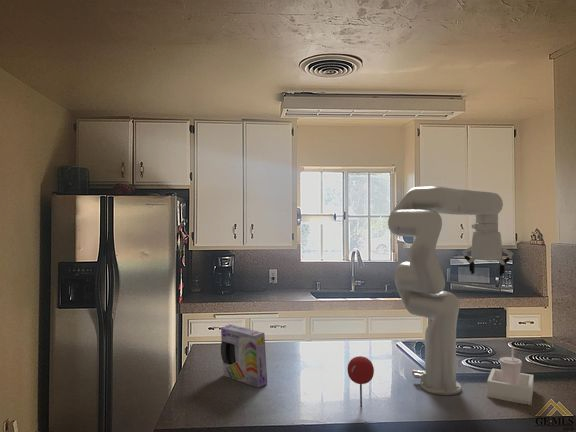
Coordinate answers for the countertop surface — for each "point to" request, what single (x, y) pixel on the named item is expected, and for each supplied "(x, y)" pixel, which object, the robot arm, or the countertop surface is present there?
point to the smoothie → (510, 369)
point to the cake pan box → (244, 355)
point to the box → (510, 388)
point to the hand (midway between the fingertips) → (486, 274)
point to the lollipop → (360, 372)
